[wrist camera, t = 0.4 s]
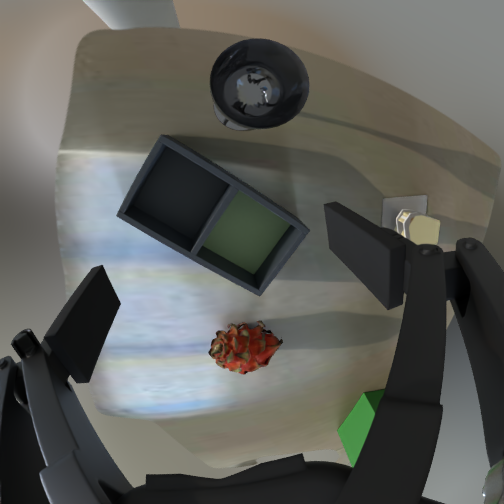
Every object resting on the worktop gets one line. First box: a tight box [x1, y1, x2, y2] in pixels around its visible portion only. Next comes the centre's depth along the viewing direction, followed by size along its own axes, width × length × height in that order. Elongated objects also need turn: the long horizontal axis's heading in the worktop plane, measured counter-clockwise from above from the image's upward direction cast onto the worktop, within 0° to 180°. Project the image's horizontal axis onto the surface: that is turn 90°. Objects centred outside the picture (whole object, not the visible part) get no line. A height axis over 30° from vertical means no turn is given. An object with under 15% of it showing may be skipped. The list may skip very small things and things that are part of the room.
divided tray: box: [116, 135, 310, 296], centre depth 35 cm, size 11×21×5 cm, turn 55°
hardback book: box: [337, 389, 385, 467], centre depth 52 cm, size 18×7×24 cm, turn 169°
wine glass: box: [210, 39, 309, 130], centre depth 26 cm, size 8×8×15 cm
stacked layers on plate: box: [382, 195, 440, 245], centre depth 40 cm, size 10×9×6 cm
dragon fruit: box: [208, 321, 283, 374], centre depth 43 cm, size 8×8×12 cm
